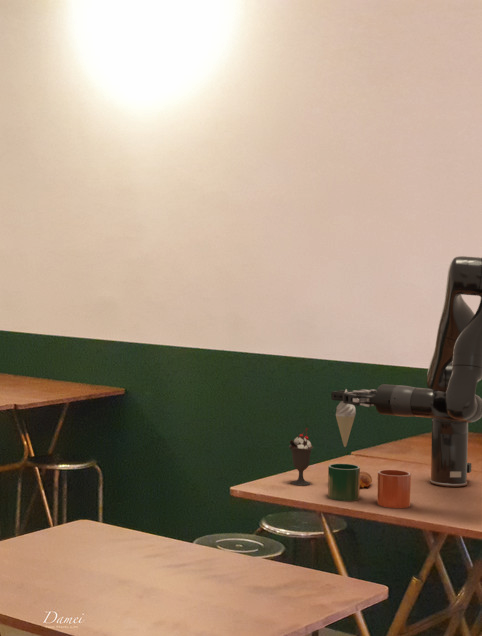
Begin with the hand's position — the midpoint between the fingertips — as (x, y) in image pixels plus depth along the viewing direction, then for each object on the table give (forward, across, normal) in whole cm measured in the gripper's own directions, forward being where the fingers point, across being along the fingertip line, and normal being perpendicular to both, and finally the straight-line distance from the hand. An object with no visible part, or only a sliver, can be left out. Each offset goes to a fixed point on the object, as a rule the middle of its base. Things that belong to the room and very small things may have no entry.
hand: (335, 395), depth 280 cm
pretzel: (+3, -14, +26) cm, 30 cm away
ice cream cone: (-3, 0, +13) cm, 14 cm away
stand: (-3, 0, +26) cm, 26 cm away
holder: (-16, -1, +26) cm, 31 cm away
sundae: (+14, -7, +26) cm, 31 cm away
